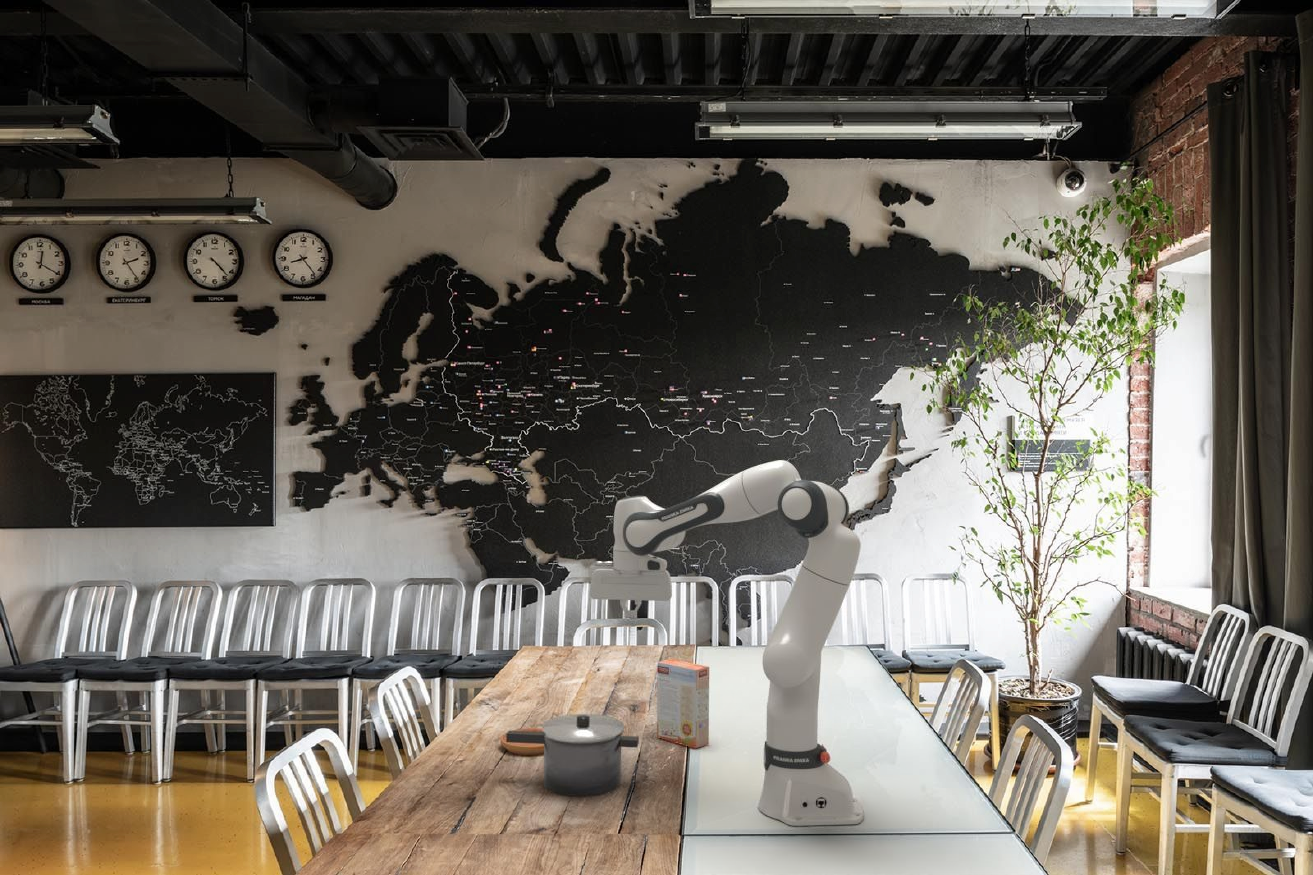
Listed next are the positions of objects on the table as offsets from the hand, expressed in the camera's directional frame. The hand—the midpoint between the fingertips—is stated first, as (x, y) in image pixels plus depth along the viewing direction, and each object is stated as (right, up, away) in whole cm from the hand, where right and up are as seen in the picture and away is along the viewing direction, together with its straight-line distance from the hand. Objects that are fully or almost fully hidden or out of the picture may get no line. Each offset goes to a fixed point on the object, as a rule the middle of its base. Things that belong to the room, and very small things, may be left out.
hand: (630, 618), depth 229 cm
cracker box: (+13, -37, +21) cm, 45 cm away
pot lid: (-11, -24, -11) cm, 29 cm away
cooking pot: (-13, -36, -11) cm, 40 cm away
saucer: (-26, -37, +15) cm, 48 cm away
